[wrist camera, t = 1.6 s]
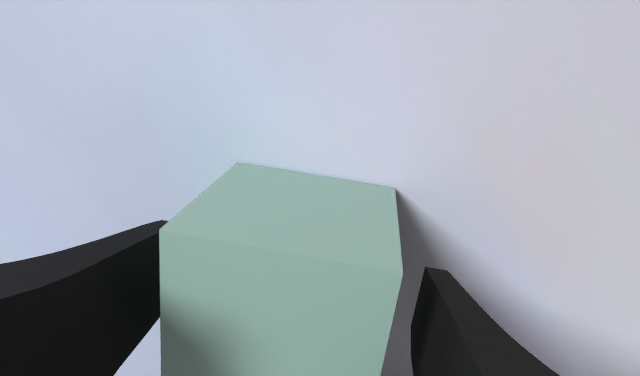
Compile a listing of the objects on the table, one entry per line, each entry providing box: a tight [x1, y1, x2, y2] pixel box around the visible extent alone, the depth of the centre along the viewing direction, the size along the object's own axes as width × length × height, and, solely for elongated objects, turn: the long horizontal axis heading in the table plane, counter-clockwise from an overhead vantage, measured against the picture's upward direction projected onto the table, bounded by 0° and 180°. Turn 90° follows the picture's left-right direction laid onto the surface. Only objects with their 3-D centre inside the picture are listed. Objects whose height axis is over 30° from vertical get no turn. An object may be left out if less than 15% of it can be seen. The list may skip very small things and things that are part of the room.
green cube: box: [159, 163, 403, 376], centre depth 12 cm, size 5×5×5 cm
